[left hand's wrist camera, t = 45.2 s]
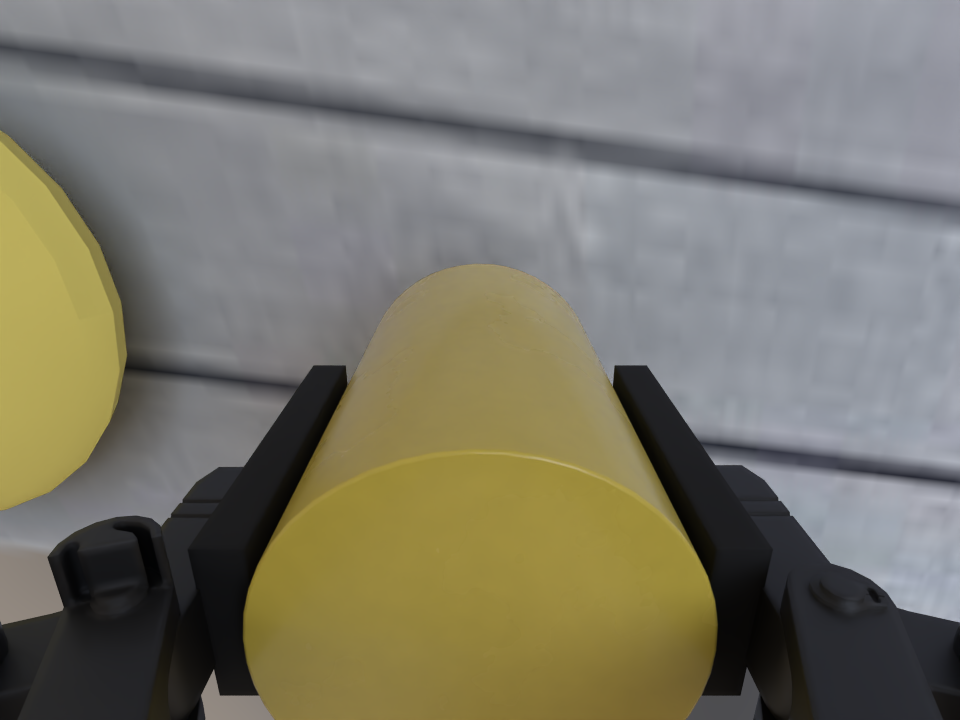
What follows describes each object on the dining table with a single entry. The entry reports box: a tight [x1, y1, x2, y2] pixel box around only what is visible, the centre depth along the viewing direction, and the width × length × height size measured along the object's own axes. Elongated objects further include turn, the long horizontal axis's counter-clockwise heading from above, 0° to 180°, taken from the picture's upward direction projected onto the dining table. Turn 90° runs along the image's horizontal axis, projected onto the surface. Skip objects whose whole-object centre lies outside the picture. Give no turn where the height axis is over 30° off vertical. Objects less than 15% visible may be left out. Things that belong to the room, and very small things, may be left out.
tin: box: [243, 264, 718, 720], centre depth 13 cm, size 6×6×10 cm
